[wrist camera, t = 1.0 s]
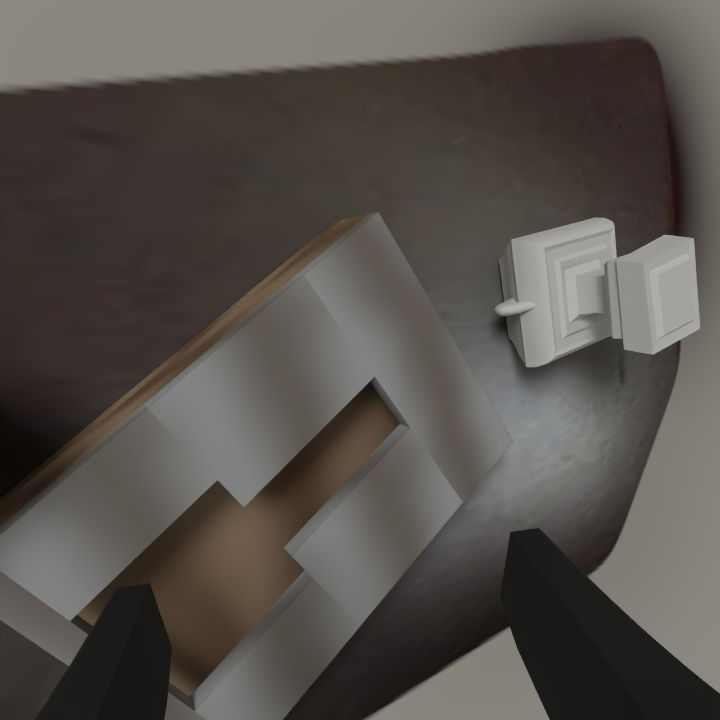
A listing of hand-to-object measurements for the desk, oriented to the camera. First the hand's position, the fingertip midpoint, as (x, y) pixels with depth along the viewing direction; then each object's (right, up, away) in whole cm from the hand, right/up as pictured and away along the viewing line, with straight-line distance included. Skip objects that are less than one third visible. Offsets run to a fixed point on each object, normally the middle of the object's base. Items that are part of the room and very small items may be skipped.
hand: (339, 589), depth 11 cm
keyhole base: (-3, 0, +13) cm, 13 cm away
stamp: (+10, +9, +20) cm, 24 cm away
